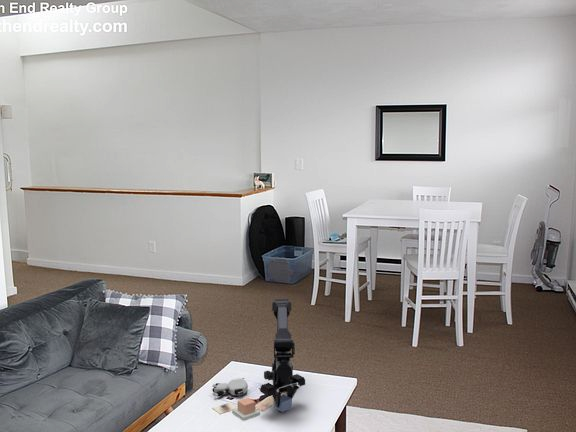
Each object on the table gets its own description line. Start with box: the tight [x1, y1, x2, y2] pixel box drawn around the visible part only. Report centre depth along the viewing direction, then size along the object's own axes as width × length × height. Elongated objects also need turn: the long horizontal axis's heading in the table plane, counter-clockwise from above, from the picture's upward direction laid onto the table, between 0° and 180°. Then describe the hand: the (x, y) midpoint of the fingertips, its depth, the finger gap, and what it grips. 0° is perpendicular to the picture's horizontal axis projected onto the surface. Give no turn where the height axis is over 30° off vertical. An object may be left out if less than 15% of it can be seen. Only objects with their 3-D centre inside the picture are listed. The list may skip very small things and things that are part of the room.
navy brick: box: [273, 394, 293, 412], centre depth 229 cm, size 5×5×4 cm
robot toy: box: [212, 377, 248, 397], centre depth 245 cm, size 12×4×15 cm
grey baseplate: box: [231, 408, 261, 421], centre depth 227 cm, size 8×8×1 cm
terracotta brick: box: [237, 397, 256, 415], centre depth 226 cm, size 5×5×4 cm
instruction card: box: [212, 401, 238, 415], centre depth 231 cm, size 9×6×1 cm, turn 128°
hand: (283, 405), depth 229 cm, fingers closed on navy brick, 5 cm apart
